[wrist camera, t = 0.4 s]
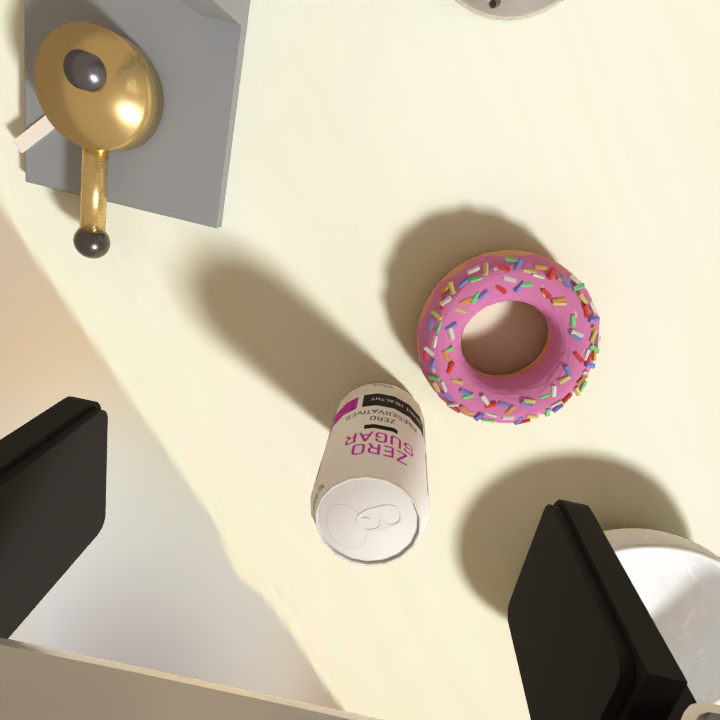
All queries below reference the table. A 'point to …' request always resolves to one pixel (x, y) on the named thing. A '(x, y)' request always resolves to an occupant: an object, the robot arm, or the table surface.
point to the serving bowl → (678, 599)
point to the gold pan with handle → (97, 110)
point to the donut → (539, 379)
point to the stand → (180, 113)
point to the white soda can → (373, 477)
